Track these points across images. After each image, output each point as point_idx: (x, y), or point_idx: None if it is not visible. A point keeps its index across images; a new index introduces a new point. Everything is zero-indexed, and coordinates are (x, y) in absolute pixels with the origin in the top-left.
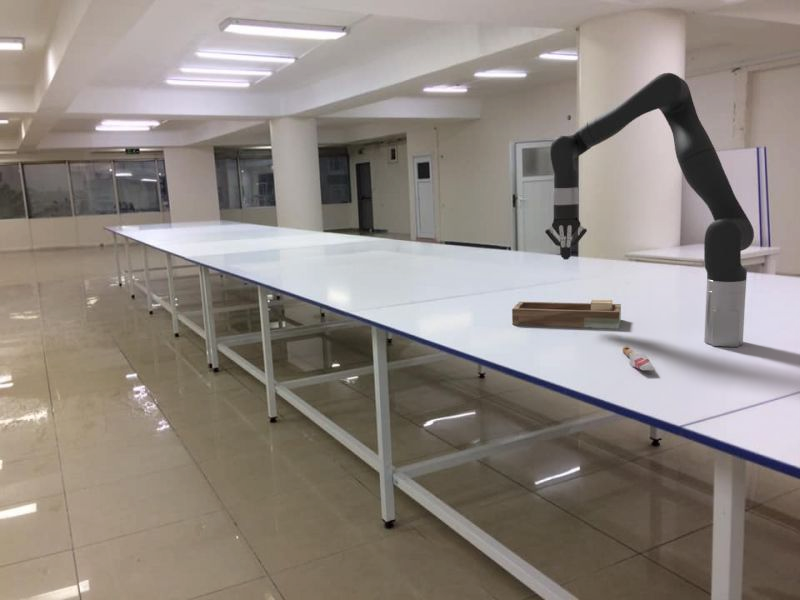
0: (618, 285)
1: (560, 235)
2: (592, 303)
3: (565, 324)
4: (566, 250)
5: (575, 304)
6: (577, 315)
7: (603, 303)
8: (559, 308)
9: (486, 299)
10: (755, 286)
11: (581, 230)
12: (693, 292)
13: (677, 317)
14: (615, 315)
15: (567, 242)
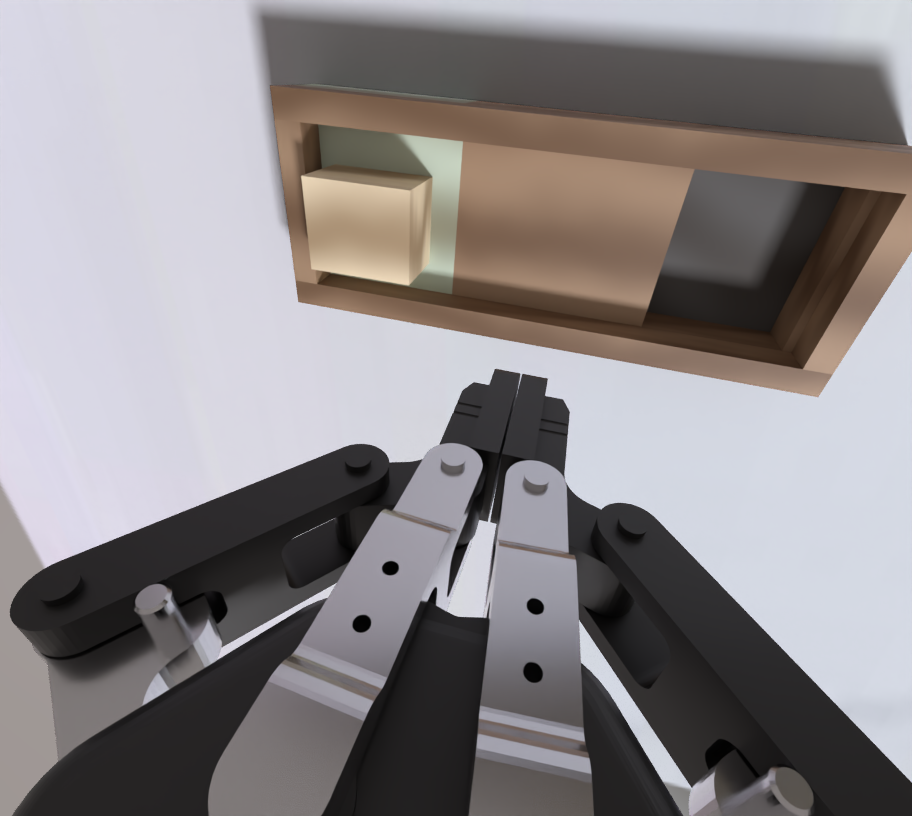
0: None
1: (565, 627)
2: (403, 188)
3: (575, 111)
4: (496, 426)
5: (502, 315)
6: (501, 107)
7: (343, 180)
8: (587, 319)
9: (856, 641)
10: None
11: (130, 642)
12: None
13: (161, 309)
14: (296, 86)
15: (456, 501)
